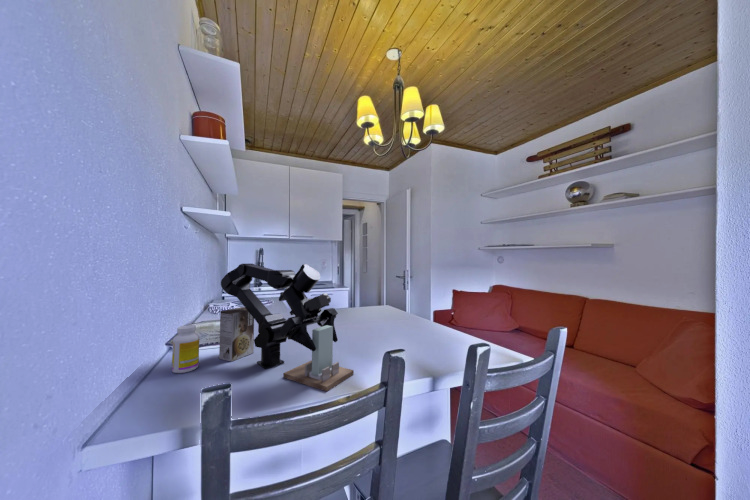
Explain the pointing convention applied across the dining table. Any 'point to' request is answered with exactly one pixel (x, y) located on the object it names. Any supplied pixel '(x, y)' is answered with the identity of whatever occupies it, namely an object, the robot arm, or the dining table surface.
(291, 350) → the dining table surface
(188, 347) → the supplement bottle
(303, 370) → the hinge base
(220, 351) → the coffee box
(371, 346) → the dining table surface
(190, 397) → the dining table surface
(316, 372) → the pale green pillar
